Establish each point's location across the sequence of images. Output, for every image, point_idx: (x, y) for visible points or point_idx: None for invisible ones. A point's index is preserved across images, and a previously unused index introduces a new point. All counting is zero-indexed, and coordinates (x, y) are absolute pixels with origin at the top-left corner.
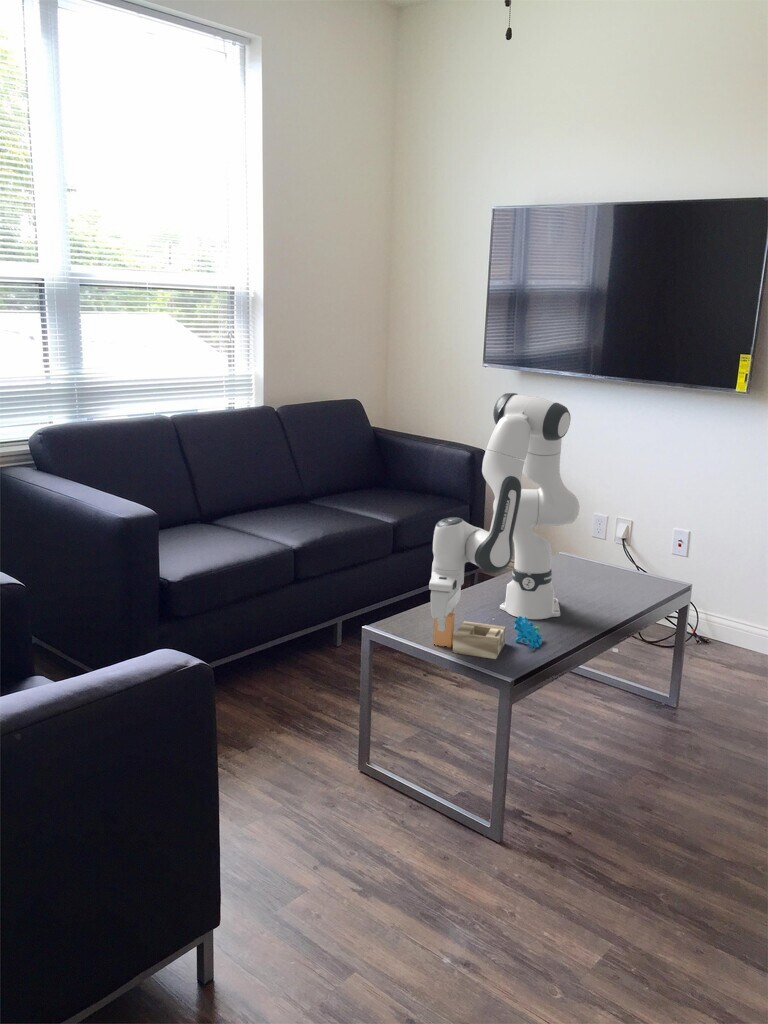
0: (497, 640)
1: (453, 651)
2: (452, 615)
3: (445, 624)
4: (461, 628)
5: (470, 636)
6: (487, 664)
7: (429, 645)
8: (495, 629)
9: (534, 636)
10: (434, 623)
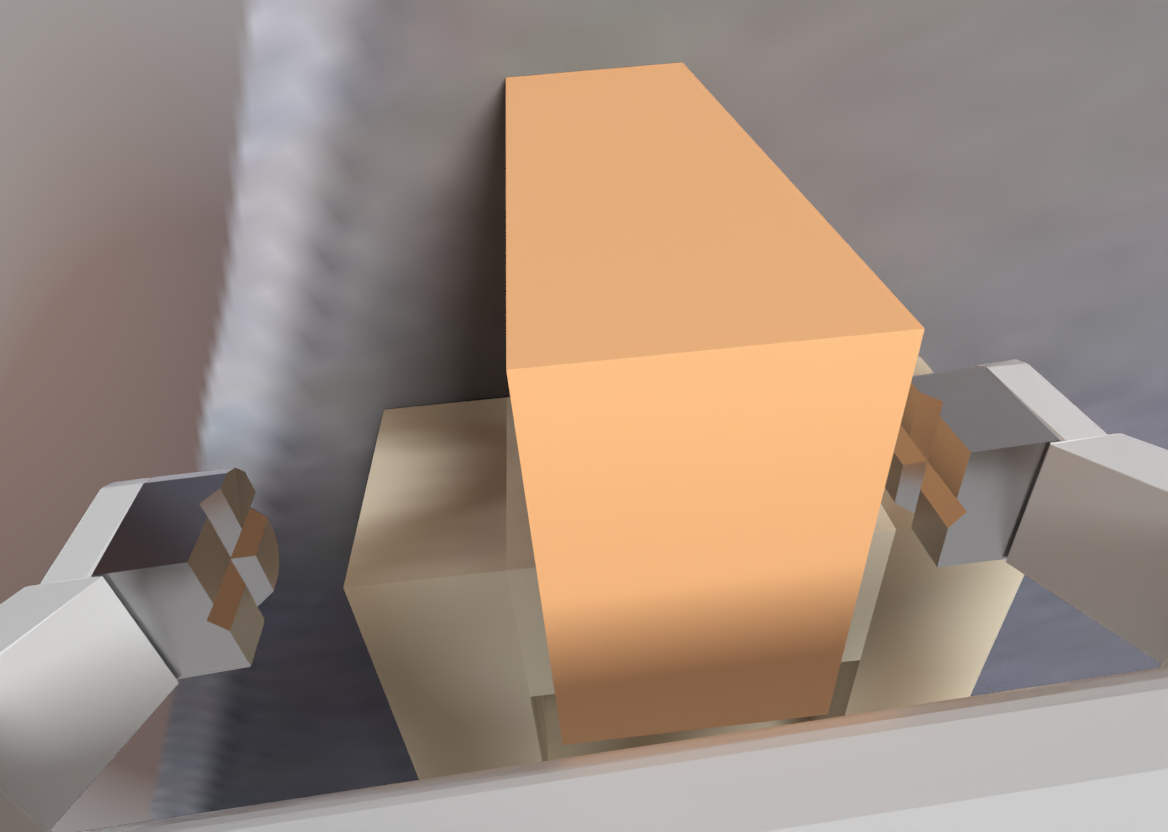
0: None
1: (383, 427)
2: (659, 727)
3: (220, 662)
4: None
5: (449, 729)
6: (319, 702)
7: (452, 22)
8: None
9: None
10: (509, 235)
